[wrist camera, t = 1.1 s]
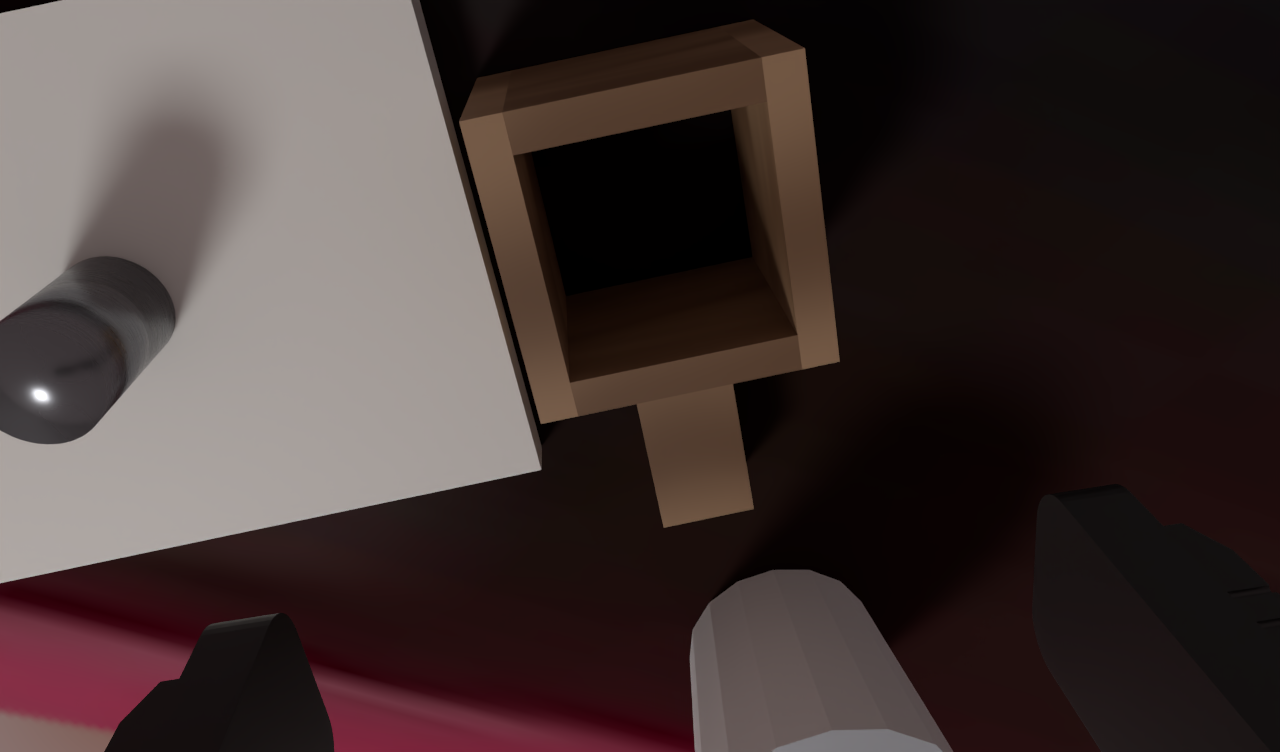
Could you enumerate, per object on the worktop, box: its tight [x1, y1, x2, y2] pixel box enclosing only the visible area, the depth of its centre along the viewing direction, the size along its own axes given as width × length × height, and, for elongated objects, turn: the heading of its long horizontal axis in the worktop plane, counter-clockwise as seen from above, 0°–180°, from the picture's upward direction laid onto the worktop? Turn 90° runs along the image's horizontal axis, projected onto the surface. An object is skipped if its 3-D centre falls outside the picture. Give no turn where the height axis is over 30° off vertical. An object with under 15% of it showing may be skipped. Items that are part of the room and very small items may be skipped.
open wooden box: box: [459, 19, 840, 528], centre depth 23 cm, size 12×6×5 cm, turn 11°
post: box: [0, 256, 176, 444], centre depth 21 cm, size 3×3×4 cm
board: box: [0, 0, 542, 583], centre depth 23 cm, size 17×13×1 cm
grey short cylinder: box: [690, 570, 953, 752], centre depth 27 cm, size 7×7×7 cm
